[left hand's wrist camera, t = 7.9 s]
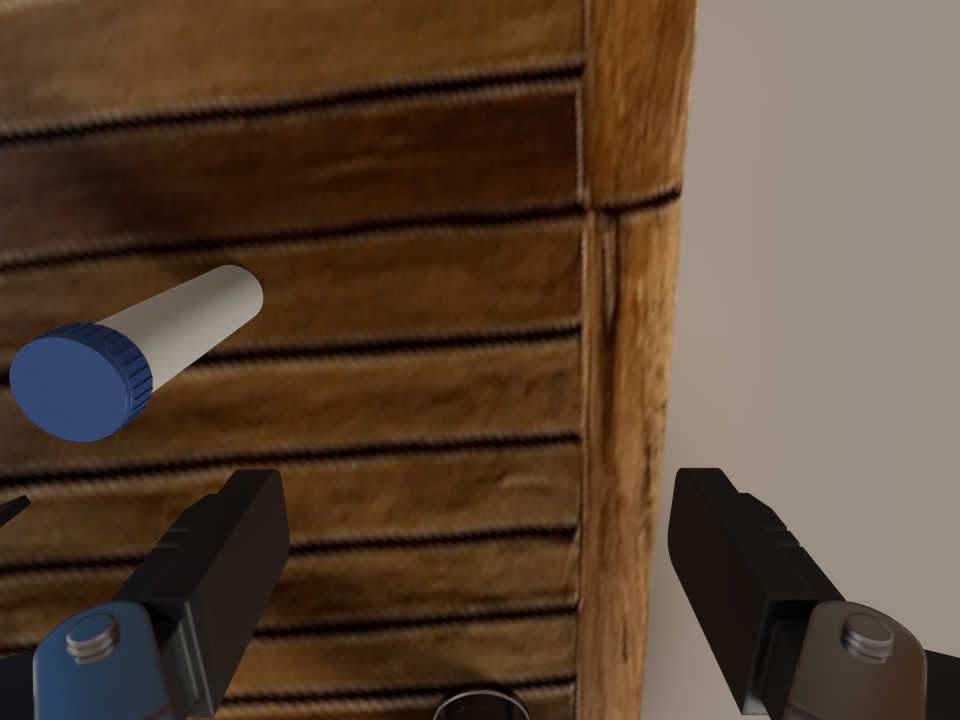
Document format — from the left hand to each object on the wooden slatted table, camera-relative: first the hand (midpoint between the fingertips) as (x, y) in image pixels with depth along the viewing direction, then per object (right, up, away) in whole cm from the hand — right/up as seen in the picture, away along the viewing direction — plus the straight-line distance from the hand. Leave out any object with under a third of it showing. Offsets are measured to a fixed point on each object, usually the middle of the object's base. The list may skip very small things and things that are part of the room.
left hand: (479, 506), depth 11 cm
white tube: (-17, +8, +28) cm, 34 cm away
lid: (-17, +2, +13) cm, 22 cm away
